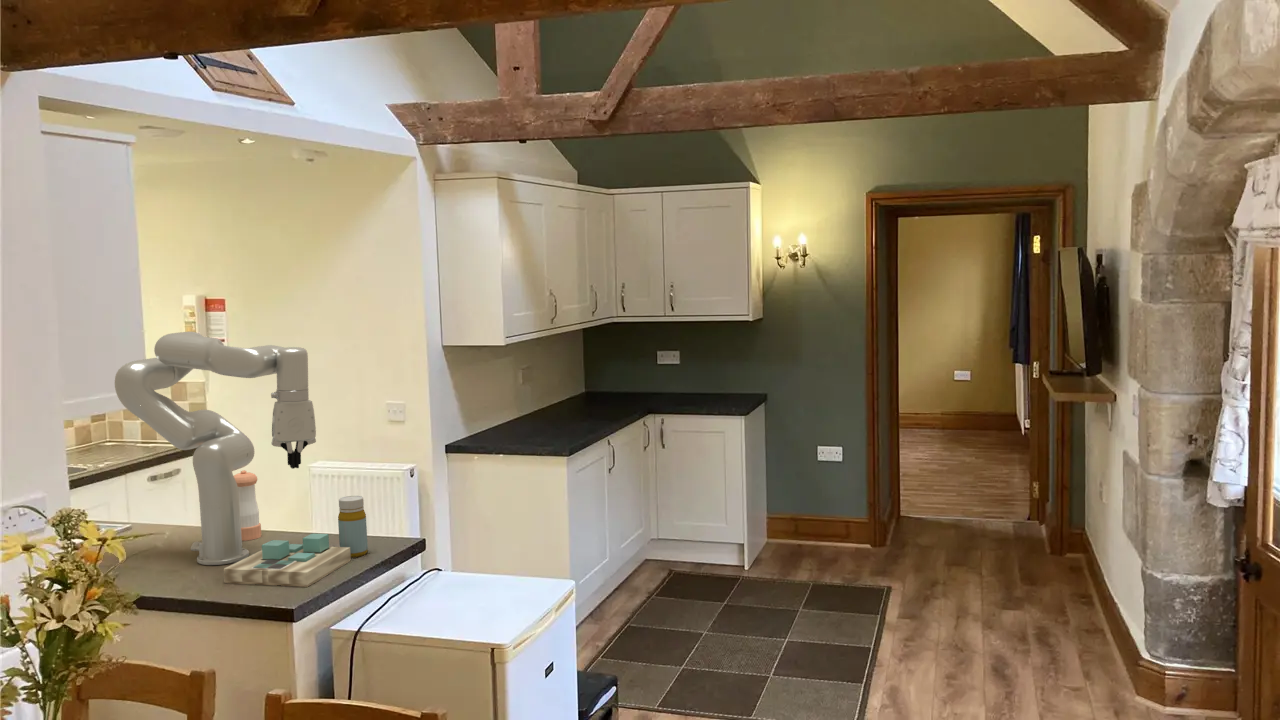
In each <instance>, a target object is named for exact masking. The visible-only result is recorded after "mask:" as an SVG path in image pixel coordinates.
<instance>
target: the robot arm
mask: <svg viewBox="0 0 1280 720" xmlns="http://www.w3.org/2000/svg"><path fill="white" fill-rule="evenodd" d="M153 348H154V350H153V351H154V355H155V357H151V358H144V359H138V360H134V361H130V362H128V363H125V364H124V365H122V366H120V368H119V369H118V370H117V371H116V374H115V376H114V389H115V394H116V396H117V398H118V400H119V402H120V403H121V404H122V406H123V407H124V408H126V410H127V411H129V412H130V413H131V414H133V415H134V416H135V417H137V418H139V420H141V421H143V423H145V424H146V425H148V426H149V427H150V428H151V429H152V430H154V431H155V433H157V434H159V435H160V436H161V437H162V438H163V439H165V440H166V441H167V442H169V444H171V445H172V446H173V447H175V448H176V449H179V450H182V451H189V450H194V449H195V451H194V452H193V455H192V466H193V467H192V468H193V471H194V473H195V477H196V482H197V483H196V484H197V489H198V501H199V512H200V513H199V514H200V526H201V541H193V543H192V544H191V546H190V551H191V552H199V554H198V555H197V557H196V561H197V563H198V564H199V565H205V566H219V565H221V566H222V565H226V564H227V565H228V564H234V563H237V562H239V561H241V560H243V559H245V558H247V557H249V556H250V552H249V550H248V549H247V548H245V547H243V541H242V536H241V520H240V505H239V492H238V486H237V483H236V480H235V478H234V474H233V472H235V471H236V470H237V471H238V470H239V469H242V468H245V467H246V466H248V465H249V464H250V463H251V462H252V461H253V460H254V457H255V446H254V444H253V442H252V441H251V439H250V438H249V436H248V435H246V434H245V433H244V432H242V431H241V430H240V429H238V428H237V427H236V426H235V425H234V424H232V423H231V422H230V421H228V420H227V419H226V418H225V417H224V416H222V415H221V414H219V413H217V412H216V411H213V410H209V409H198V410H194V411H193V410H192V411H188V410H186V409H184V408H183V407H181V406H180V405H178V404H177V403H176V402H175V401H174V400H172V399H171V398H169V397H168V396H165V395H163V394H161V393H159V392H157V391H158V390H164V389H168V388H171V387H172V386H174V385H176V384H178V382H179V381H181V380H182V379H183V378H184V377H186V376H187V375H188V374H189V373H190V372H191V371H193V370H201V371H209V372H212V373H215V374H217V375H219V376H220V375H221V376H226V377H233V378H234V377H235V378H243V379H255V378H259V377H265V376H270V375H276V391H274V392H271V393H270V397H271V399H276V401H274V404H273V409H272V422H271V423H272V424H271V436H272V440H271V445H272V446H273V447H278V448H282V449H284V450H285V451H286V452H287V465H288V466H289V467H290V468H291V469H299V468H300V465H301V464H302V455H301V454H302V452H303V450H304V449H305V448H306V447H307V446H309V445H312V444H315V443H316V442H317V440H316V436H317V430H316V429H317V427H316V419H315V409H314V403H313V401H312V400H310V399H309V395H310V394H309V355H308V351H307V350H306V348H304V347H299V346H298V347H297V346H296V347H295V346H292V347H291V346H288V347H284V346H280V345H272V344H267V345H259V346H253V347H239V346H229V345H225V344H224V343H223V341H222V340H221V339H219V338H217V337H209V336H204V335H203V334H200V333H198V332H196V331H183V332H182V331H181V332H173V333H167V334H165V335H163V336H161V337H159V339H157V341H156V342H155V344H154V347H153ZM140 405H141V406H140ZM293 442H295V448H294V449H293V444H292V443H293Z"/></svg>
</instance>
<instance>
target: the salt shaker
mask: <svg viewBox="0 0 1280 720" xmlns="http://www.w3.org/2000/svg"><path fill="white" fill-rule="evenodd" d="M233 476H234V478H235V480H236V483H237V486H238V492H239V505H240V520H241V536H242V542H244V541H251V540H252V541H253V540H257V539H259V538H261V537H262V525H261V522H260V510H259V507H258V502H257V498H256V495H257V494H256V484H257V482H258V476H257V475H256V474H255V473H253V472H247V470H240V472H239V473H236V474H233Z"/></svg>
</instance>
